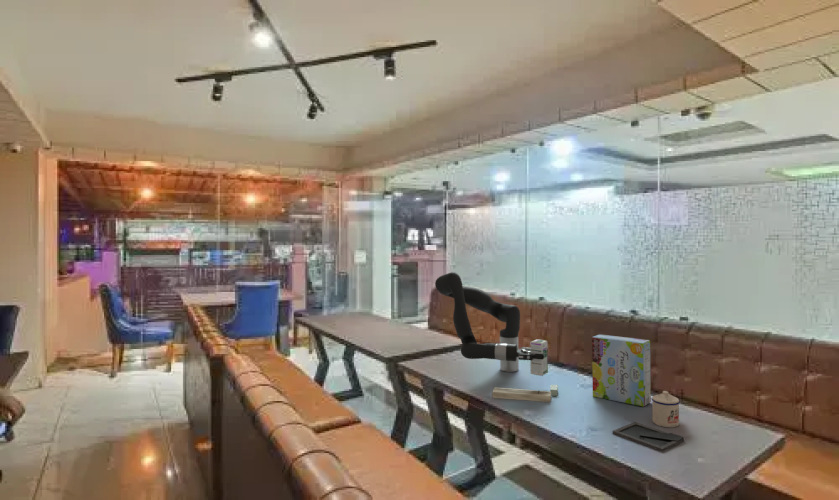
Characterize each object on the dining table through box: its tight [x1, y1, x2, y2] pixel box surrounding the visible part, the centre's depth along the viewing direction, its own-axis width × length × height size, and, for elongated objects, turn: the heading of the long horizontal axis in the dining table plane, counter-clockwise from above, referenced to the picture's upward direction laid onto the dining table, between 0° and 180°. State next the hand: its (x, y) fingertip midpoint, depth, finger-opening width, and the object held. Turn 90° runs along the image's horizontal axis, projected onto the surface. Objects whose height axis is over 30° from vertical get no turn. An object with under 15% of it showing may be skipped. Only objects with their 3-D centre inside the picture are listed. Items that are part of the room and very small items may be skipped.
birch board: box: [492, 387, 552, 403], centre depth 214 cm, size 6×24×3 cm, turn 73°
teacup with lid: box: [651, 390, 681, 428], centre depth 184 cm, size 12×9×12 cm
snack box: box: [591, 334, 652, 407], centre depth 209 cm, size 22×9×26 cm, turn 47°
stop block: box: [549, 384, 559, 397], centre depth 219 cm, size 7×3×2 cm, turn 163°
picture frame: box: [612, 421, 685, 453], centre depth 171 cm, size 13×2×18 cm
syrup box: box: [529, 339, 549, 377], centre depth 220 cm, size 6×6×14 cm
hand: (544, 354), depth 219 cm, fingers closed on syrup box, 7 cm apart
